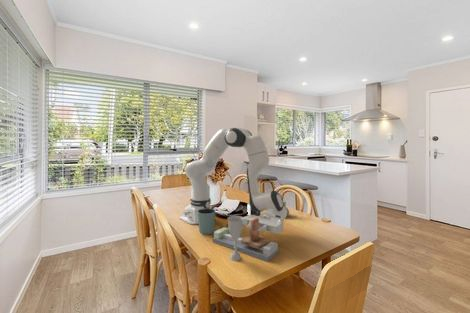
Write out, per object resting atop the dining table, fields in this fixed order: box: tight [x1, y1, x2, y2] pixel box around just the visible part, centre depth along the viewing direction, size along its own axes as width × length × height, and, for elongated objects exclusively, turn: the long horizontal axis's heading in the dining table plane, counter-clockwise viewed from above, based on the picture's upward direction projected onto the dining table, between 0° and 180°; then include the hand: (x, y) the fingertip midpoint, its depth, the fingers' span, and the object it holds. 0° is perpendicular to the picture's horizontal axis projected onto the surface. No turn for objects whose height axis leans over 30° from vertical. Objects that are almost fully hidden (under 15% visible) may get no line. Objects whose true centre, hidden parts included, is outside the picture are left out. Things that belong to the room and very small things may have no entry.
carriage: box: [241, 218, 269, 249], centre depth 111 cm, size 10×8×12 cm
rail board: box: [212, 226, 279, 263], centre depth 115 cm, size 32×10×5 cm, turn 53°
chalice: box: [226, 215, 244, 262], centre depth 104 cm, size 7×7×18 cm
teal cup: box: [197, 208, 216, 235], centre depth 134 cm, size 10×10×12 cm
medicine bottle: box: [246, 203, 261, 217], centre depth 161 cm, size 7×7×12 cm
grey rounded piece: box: [283, 200, 290, 216], centre depth 161 cm, size 11×8×10 cm
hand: (253, 228), depth 110 cm, fingers closed on carriage, 4 cm apart
